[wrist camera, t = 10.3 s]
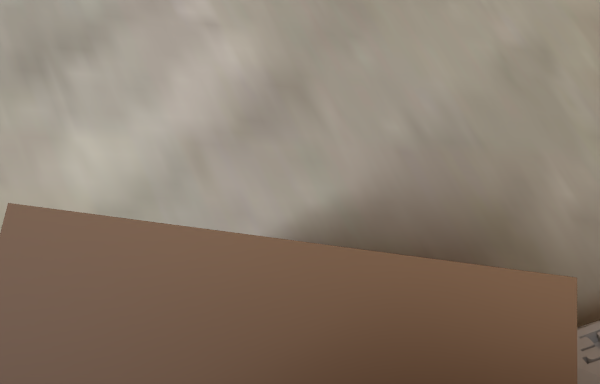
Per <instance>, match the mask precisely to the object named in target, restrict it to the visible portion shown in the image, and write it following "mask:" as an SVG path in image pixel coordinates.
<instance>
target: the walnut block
mask: <svg viewBox="0 0 600 384" xmlns="http://www.w3.org/2000/svg"><path fill="white" fill-rule="evenodd" d="M0 384H577V278H576V277H568V276H560V275H553V274H545V273H537V272H530V271H522V270H515V269H507V268H499V267H492V266H484V265H476V264H469V263H461V262H454V261H446V260H438V259H431V258H423V257H415V256H408V255H400V254H393V253H385V252H377V251H370V250H362V249H354V248H347V247H339V246H332V245H324V244H316V243H309V242H301V241H293V240H286V239H278V238H271V237H263V236H255V235H248V234H240V233H232V232H225V231H217V230H210V229H202V228H194V227H187V226H179V225H171V224H164V223H156V222H149V221H141V220H133V219H126V218H118V217H110V216H103V215H95V214H88V213H80V212H72V211H65V210H57V209H49V208H42V207H34V206H27V205H19V204H11V203H8V206H7V210H6V213H5V217H4V221H3V225H2V229H1V233H0Z"/></svg>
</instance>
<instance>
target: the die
mask: <svg viewBox="0 0 600 384" xmlns="http://www.w3.org/2000/svg"><path fill="white" fill-rule="evenodd" d="M577 384H600V320H599V321H596V322H592V323H589V324H586V325H583V326H580V327H577Z"/></svg>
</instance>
